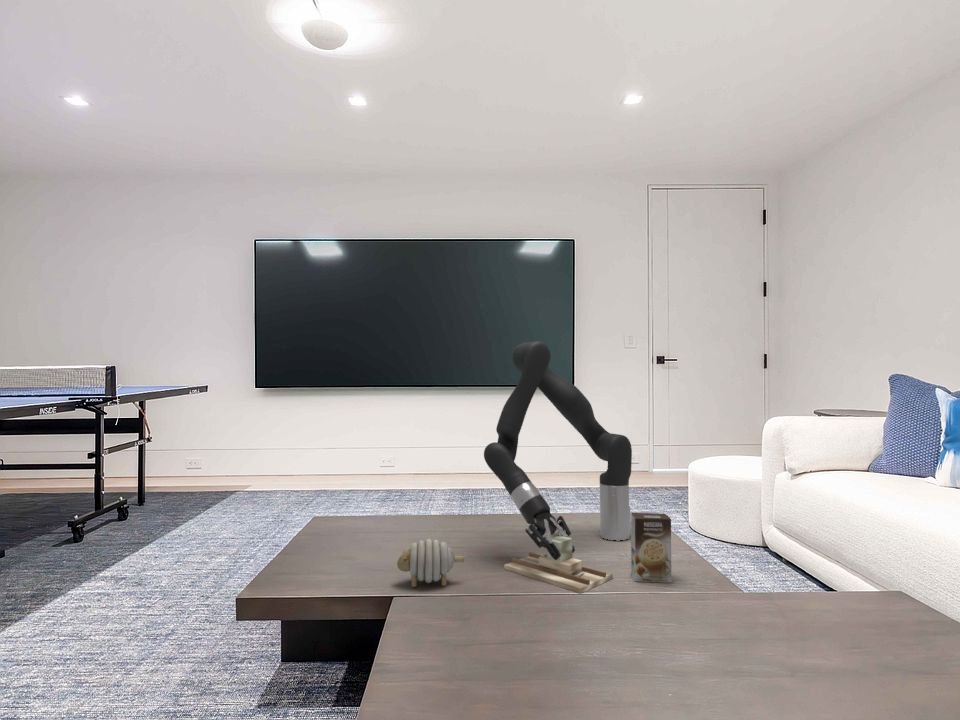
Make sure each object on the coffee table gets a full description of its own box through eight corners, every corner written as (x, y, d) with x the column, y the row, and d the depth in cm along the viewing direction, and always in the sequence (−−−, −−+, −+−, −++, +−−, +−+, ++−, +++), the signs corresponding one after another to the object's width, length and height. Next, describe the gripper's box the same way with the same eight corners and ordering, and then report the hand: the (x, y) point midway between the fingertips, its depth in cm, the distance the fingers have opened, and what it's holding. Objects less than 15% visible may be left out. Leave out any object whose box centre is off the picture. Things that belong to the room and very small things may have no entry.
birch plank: (537, 557, 164) (537, 549, 164) (612, 578, 146) (612, 569, 146) (504, 569, 154) (504, 560, 154) (580, 593, 137) (580, 584, 137)
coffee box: (635, 582, 144) (634, 518, 144) (631, 573, 150) (629, 512, 150) (672, 583, 143) (671, 518, 143) (666, 574, 149) (665, 512, 150)
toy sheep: (396, 578, 148) (396, 535, 148) (461, 574, 151) (460, 532, 151) (397, 593, 138) (397, 547, 138) (466, 588, 140) (466, 543, 141)
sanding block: (551, 563, 155) (551, 533, 155) (582, 571, 148) (581, 540, 148) (538, 568, 151) (538, 537, 152) (569, 577, 144) (568, 545, 144)
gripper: (520, 498, 151) (556, 553, 142) (553, 490, 161) (590, 541, 152) (505, 515, 154) (540, 570, 145) (539, 506, 164) (574, 557, 155)
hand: (565, 555), depth 149 cm, fingers closed on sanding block, 5 cm apart
